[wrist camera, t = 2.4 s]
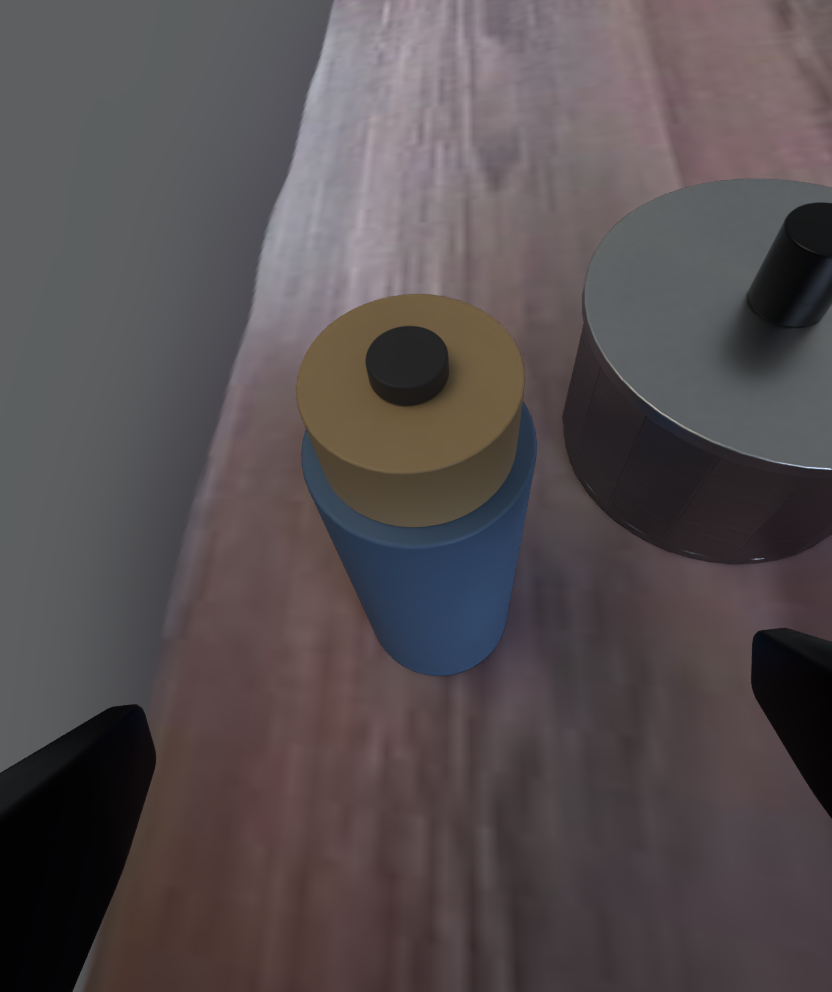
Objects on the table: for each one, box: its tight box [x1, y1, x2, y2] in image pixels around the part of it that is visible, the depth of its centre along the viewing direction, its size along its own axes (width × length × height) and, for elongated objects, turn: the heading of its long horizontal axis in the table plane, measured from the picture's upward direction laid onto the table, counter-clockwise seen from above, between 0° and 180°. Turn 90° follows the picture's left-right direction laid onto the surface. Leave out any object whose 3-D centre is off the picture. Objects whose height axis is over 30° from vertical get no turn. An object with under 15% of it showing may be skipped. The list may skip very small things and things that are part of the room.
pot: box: [563, 324, 832, 564], centre depth 21 cm, size 11×11×6 cm
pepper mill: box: [296, 294, 537, 676], centre depth 16 cm, size 5×5×13 cm
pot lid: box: [582, 179, 832, 479], centre depth 17 cm, size 12×12×4 cm
